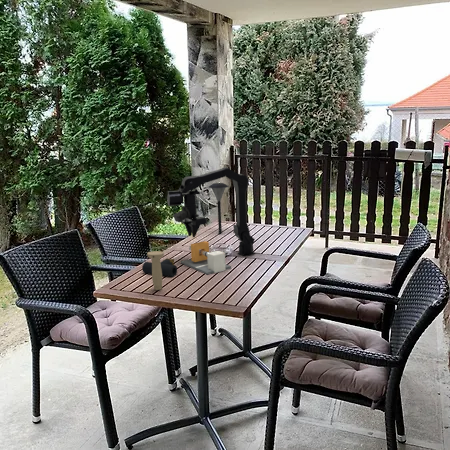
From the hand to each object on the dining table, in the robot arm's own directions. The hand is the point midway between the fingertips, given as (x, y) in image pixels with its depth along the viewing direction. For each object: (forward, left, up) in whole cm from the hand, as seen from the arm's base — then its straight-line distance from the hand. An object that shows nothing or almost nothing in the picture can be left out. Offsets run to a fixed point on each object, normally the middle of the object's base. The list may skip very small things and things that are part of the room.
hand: (191, 236), depth 211 cm
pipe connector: (+18, +5, -13) cm, 23 cm away
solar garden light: (-41, -34, -12) cm, 55 cm away
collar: (0, +6, -10) cm, 12 cm away
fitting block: (0, +20, -12) cm, 23 cm away
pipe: (0, +9, -7) cm, 11 cm away
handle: (+31, +23, -12) cm, 40 cm away
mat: (0, +11, -12) cm, 16 cm away
